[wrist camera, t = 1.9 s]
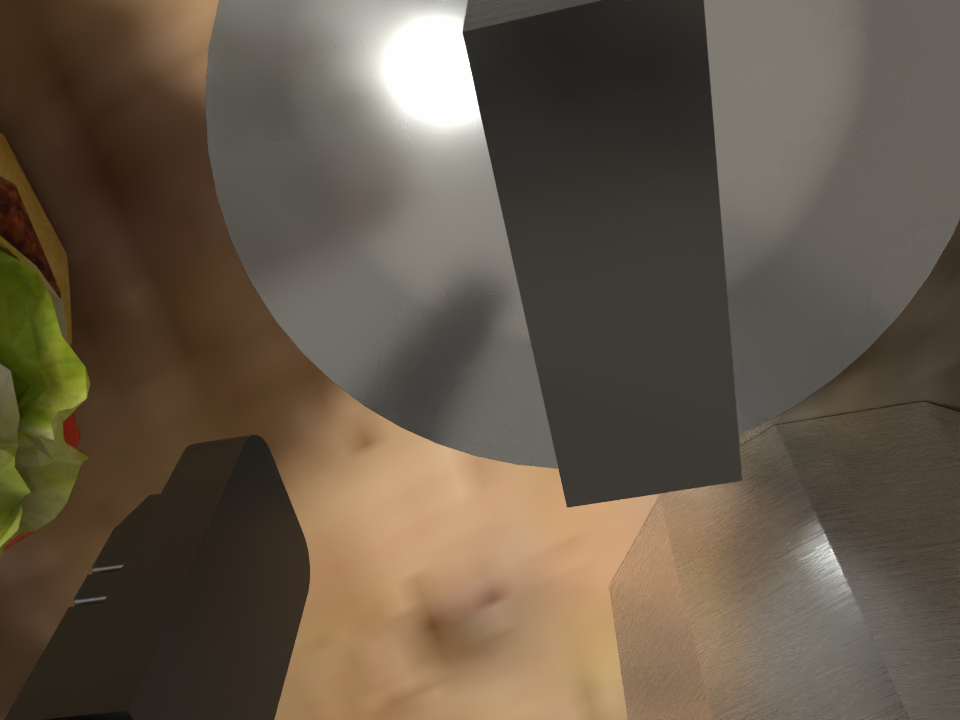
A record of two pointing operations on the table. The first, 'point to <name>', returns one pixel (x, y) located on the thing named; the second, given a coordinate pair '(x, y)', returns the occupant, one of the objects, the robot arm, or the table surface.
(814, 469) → the pot
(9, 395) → the food
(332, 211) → the lid
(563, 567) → the table surface
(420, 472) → the table surface
